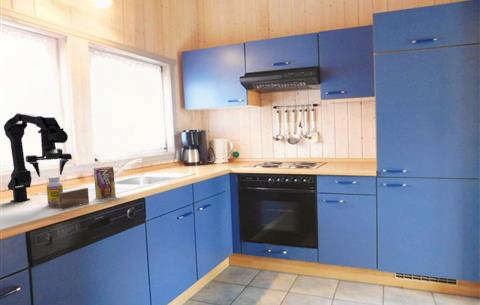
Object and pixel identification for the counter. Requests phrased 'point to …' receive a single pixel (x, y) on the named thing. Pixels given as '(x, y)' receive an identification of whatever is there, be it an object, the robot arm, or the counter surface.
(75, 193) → the brown rectangular box
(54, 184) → the supplement bottle
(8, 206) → the counter surface
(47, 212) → the counter surface
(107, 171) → the candy box
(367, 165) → the counter surface
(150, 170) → the counter surface
